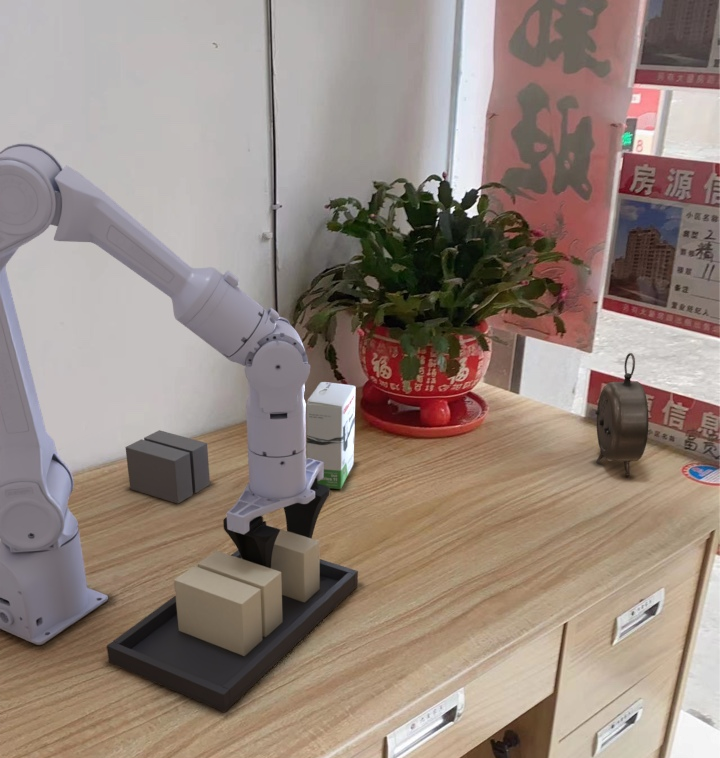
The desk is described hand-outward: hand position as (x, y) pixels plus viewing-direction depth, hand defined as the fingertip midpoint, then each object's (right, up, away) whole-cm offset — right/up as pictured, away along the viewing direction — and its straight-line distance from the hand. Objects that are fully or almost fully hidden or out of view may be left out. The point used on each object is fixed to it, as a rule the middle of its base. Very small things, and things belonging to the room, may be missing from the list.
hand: (279, 563), depth 93 cm
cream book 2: (-3, -5, -4) cm, 8 cm away
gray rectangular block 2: (-16, +9, +24) cm, 30 cm away
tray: (-3, -6, -4) cm, 8 cm away
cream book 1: (-5, -7, -7) cm, 11 cm away
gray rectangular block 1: (-17, +8, +21) cm, 28 cm away
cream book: (0, -2, +1) cm, 3 cm away
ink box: (+5, +10, +27) cm, 29 cm away
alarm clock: (+44, +12, +32) cm, 56 cm away
